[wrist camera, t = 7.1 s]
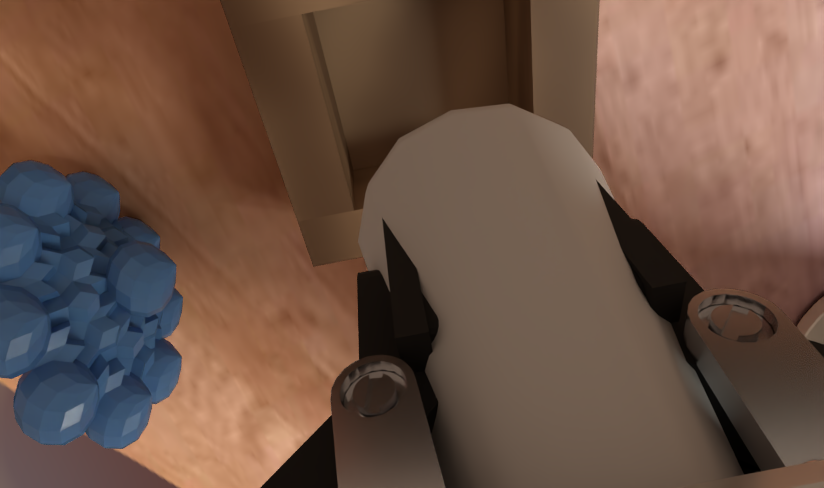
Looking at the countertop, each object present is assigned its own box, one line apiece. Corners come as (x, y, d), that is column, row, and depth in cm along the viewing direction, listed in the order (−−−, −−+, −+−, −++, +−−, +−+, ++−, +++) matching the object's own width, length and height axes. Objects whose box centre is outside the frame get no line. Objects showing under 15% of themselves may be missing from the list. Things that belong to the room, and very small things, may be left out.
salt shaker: (326, 115, 13) (190, 1388, 2) (551, 43, 12) (2131, 1136, 1) (395, 288, 16) (494, 1099, 5) (574, 235, 15) (1092, 999, 5)
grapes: (266, 278, 29) (224, 469, 19) (165, 316, 30) (75, 518, 20) (136, 94, 23) (-26, 240, 13) (11, 149, 24) (-230, 325, 14)
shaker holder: (554, -129, 20) (605, -136, 16) (555, 167, 27) (590, 212, 23) (230, -63, 20) (201, -55, 16) (318, 213, 27) (313, 266, 23)
